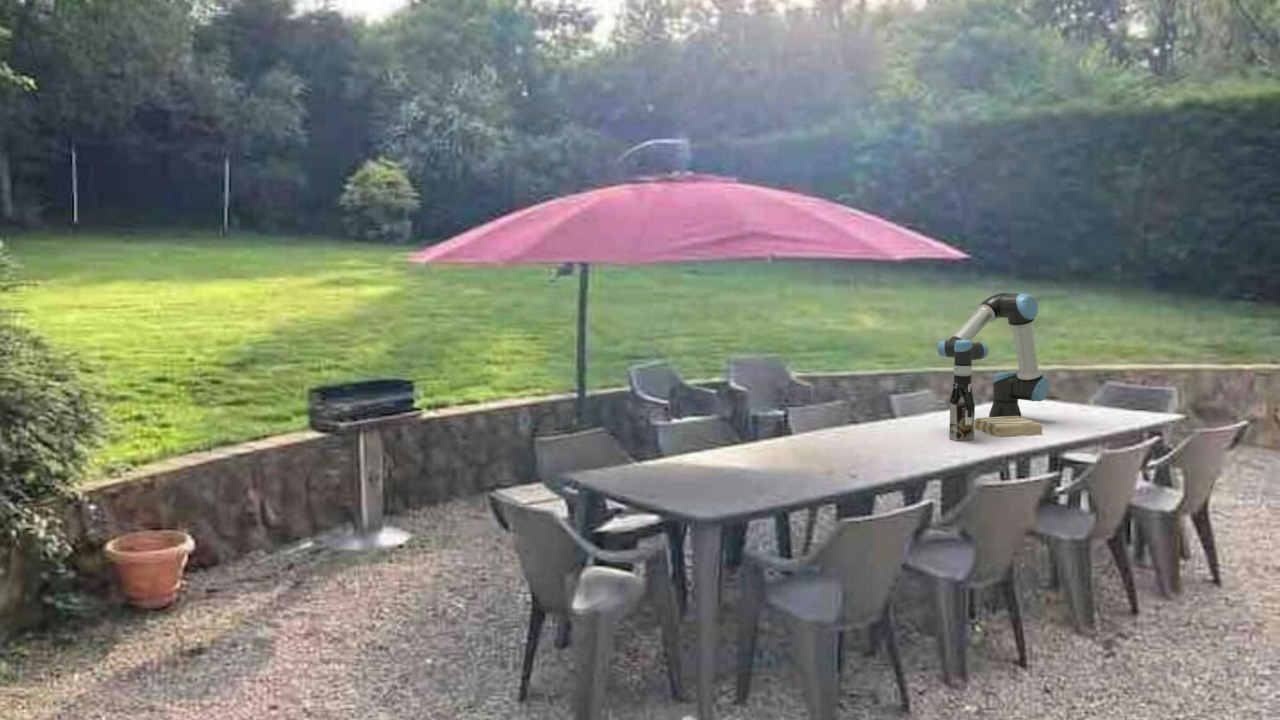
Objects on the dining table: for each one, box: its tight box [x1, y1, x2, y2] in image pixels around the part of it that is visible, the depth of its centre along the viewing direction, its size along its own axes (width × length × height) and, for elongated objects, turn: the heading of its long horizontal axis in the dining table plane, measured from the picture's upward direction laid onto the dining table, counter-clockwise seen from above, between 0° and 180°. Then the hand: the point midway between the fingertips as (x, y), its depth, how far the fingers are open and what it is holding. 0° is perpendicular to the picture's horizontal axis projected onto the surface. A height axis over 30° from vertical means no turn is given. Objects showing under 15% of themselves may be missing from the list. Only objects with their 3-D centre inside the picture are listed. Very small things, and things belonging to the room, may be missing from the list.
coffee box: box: [948, 402, 976, 442], centre depth 494 cm, size 9×6×16 cm
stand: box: [974, 416, 1043, 438], centre depth 511 cm, size 22×22×5 cm
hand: (961, 421), depth 494 cm, fingers open, 13 cm apart
